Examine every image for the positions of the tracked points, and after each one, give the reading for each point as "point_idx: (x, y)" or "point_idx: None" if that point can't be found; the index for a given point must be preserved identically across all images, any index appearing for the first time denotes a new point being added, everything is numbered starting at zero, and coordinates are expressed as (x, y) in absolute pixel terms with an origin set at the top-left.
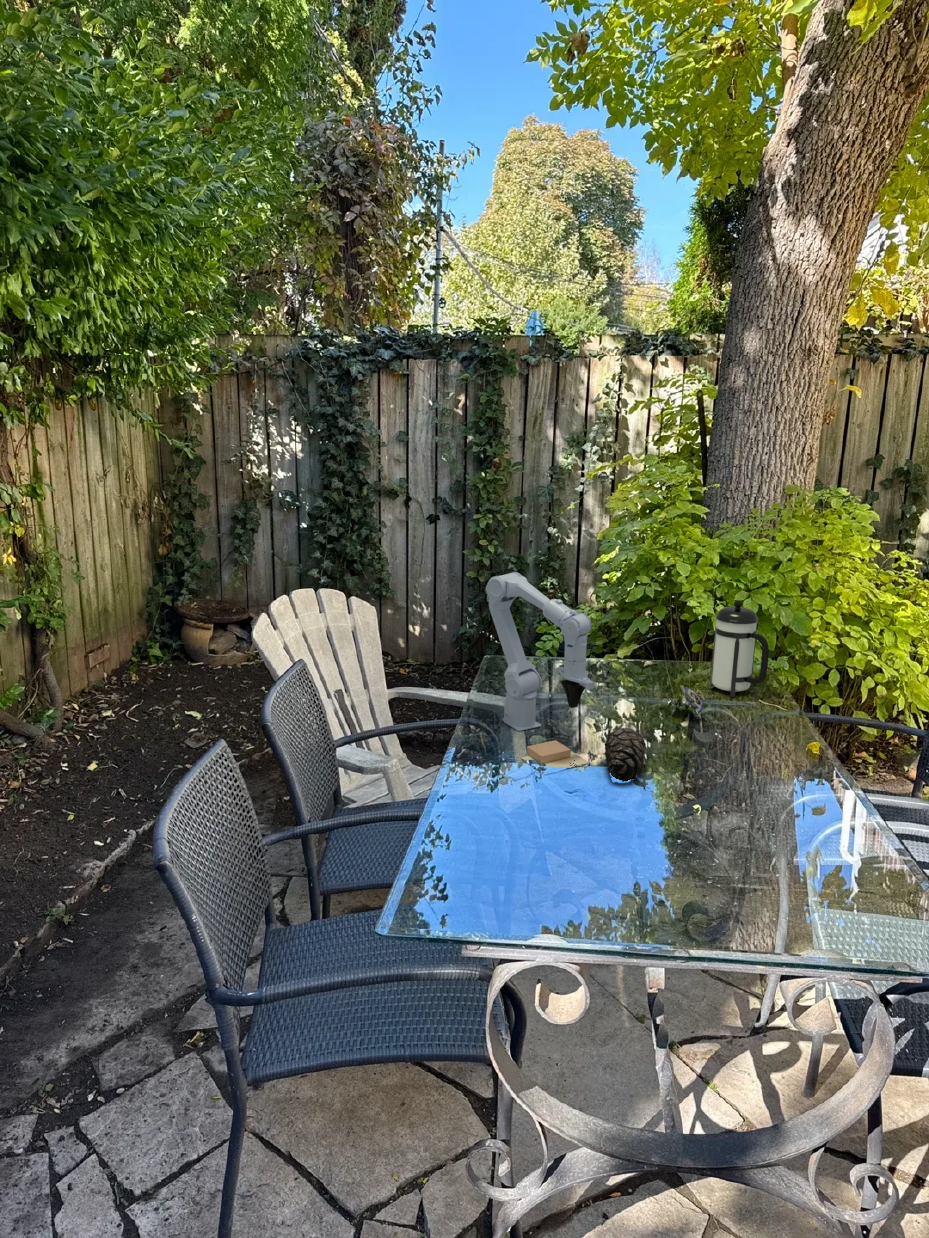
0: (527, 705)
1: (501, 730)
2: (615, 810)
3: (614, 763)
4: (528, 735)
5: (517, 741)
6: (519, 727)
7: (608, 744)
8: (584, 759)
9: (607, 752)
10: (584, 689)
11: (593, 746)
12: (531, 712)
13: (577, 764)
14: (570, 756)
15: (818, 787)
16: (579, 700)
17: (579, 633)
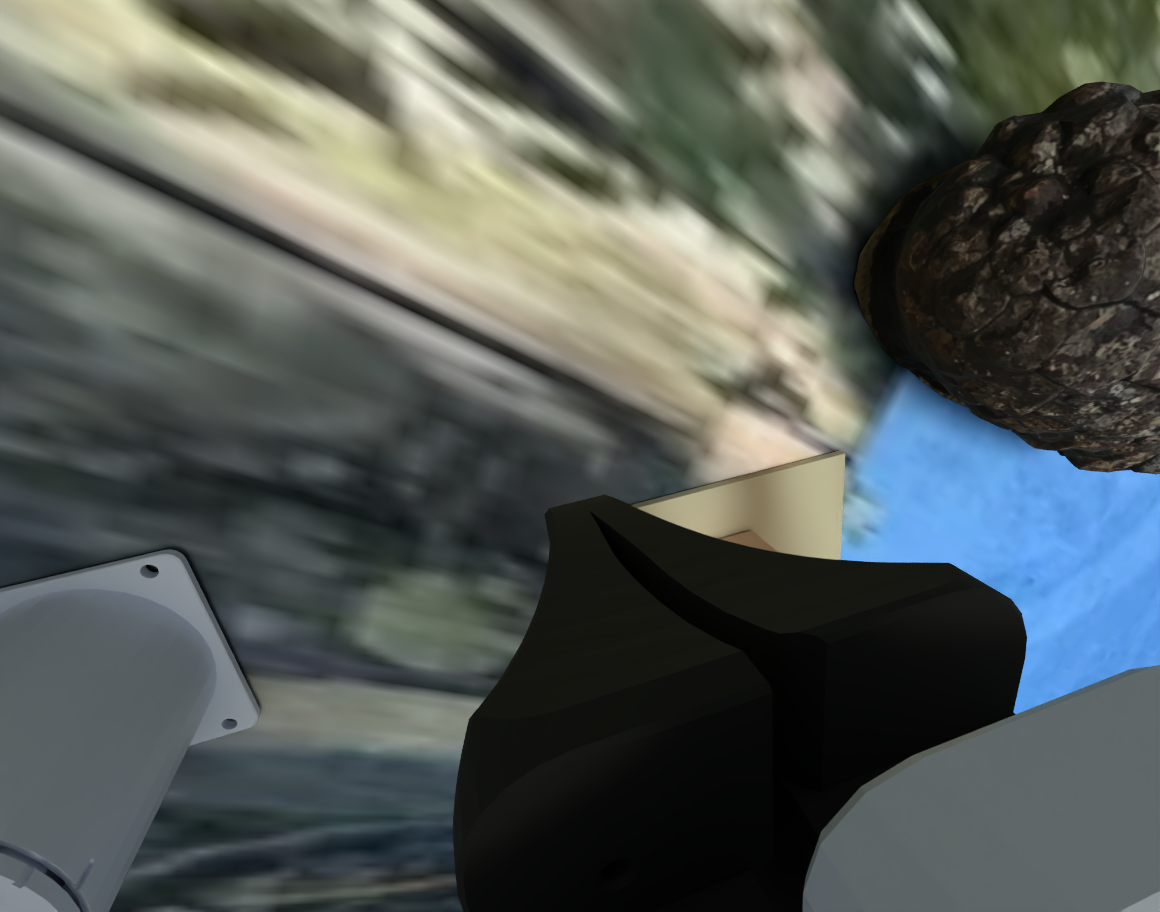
0: (124, 840)
1: (213, 800)
2: (1150, 516)
3: None
4: (344, 663)
5: (427, 734)
6: (210, 712)
7: (1079, 426)
8: (803, 466)
9: (1074, 448)
10: (845, 564)
11: (653, 315)
12: (145, 728)
13: (833, 523)
14: (752, 531)
15: None
16: (644, 511)
17: None
